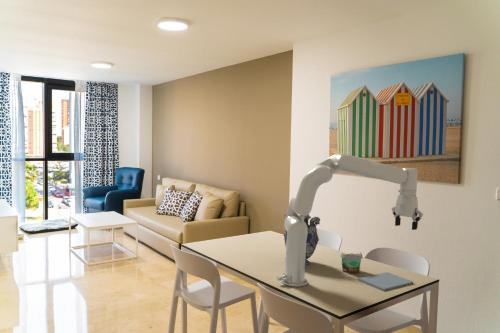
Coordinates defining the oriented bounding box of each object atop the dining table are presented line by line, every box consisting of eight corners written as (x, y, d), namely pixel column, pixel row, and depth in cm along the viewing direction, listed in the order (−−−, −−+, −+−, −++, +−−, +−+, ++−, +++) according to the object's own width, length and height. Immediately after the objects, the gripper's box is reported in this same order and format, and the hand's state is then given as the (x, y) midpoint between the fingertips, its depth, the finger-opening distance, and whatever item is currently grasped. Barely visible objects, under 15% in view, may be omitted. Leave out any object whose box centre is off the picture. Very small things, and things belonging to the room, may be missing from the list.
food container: (345, 275, 210) (346, 256, 209) (339, 271, 216) (340, 252, 215) (366, 273, 213) (367, 255, 212) (360, 270, 219) (361, 251, 218)
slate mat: (383, 291, 189) (383, 288, 189) (357, 280, 202) (357, 278, 202) (413, 283, 200) (413, 281, 200) (386, 273, 214) (387, 272, 214)
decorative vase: (275, 263, 225) (278, 213, 224) (288, 255, 242) (291, 209, 240) (312, 270, 215) (315, 218, 214) (322, 262, 232) (325, 214, 230)
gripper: (388, 191, 202) (386, 224, 203) (418, 195, 188) (416, 231, 189) (398, 190, 206) (396, 223, 207) (428, 195, 192) (426, 230, 193)
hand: (405, 227), depth 198 cm, fingers open, 9 cm apart
